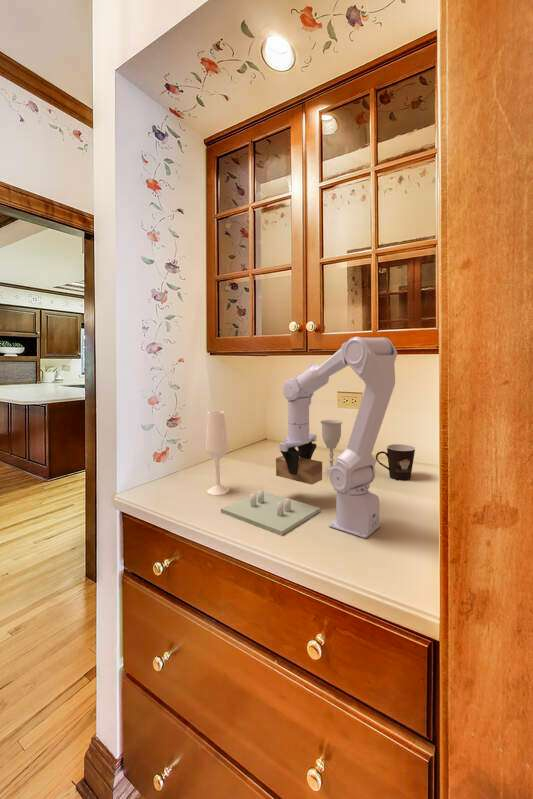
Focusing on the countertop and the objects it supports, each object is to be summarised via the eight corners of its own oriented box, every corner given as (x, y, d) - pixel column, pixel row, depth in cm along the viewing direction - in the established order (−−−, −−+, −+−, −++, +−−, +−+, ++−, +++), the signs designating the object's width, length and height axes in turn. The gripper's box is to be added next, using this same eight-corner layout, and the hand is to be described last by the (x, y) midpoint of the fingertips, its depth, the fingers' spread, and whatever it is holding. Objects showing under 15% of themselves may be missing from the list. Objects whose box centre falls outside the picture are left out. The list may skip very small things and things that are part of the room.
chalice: (341, 470, 127) (341, 419, 125) (343, 477, 121) (343, 423, 118) (319, 470, 128) (319, 419, 126) (320, 477, 121) (320, 423, 119)
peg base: (319, 511, 95) (319, 496, 94) (281, 535, 83) (281, 518, 82) (261, 493, 108) (261, 480, 107) (221, 512, 96) (220, 497, 95)
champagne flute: (220, 496, 106) (217, 414, 103) (202, 492, 110) (199, 413, 107) (234, 489, 112) (231, 411, 109) (216, 485, 115) (213, 409, 113)
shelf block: (322, 479, 99) (322, 461, 99) (311, 484, 96) (311, 466, 95) (287, 471, 107) (286, 454, 107) (276, 475, 103) (275, 458, 103)
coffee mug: (415, 475, 122) (415, 445, 121) (413, 483, 114) (414, 452, 113) (378, 470, 127) (379, 442, 125) (374, 478, 119) (375, 448, 118)
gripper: (302, 417, 108) (302, 462, 109) (270, 425, 97) (270, 475, 98) (322, 420, 103) (322, 467, 105) (291, 428, 92) (292, 480, 94)
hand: (299, 471), depth 101 cm, fingers closed on shelf block, 5 cm apart
